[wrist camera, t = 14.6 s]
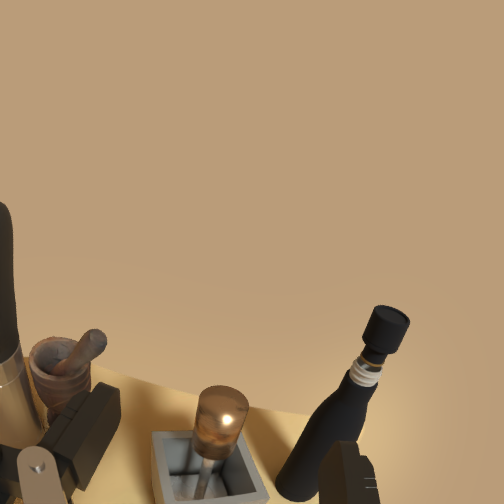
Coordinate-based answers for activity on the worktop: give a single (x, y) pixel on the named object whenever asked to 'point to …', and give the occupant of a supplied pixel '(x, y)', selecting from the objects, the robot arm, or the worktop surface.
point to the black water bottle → (342, 406)
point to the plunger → (212, 441)
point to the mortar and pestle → (64, 368)
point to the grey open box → (189, 463)
